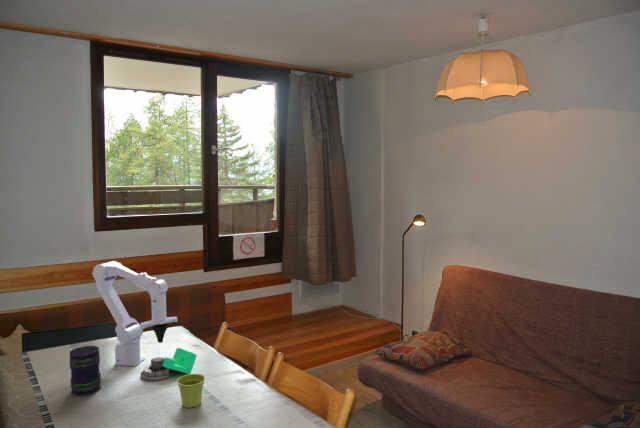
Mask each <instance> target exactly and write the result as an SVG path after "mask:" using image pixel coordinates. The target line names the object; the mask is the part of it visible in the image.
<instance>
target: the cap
mask: <svg viewBox="0 0 640 428" xmlns="http://www.w3.org/2000/svg"><path fill="white" fill-rule="evenodd" d="M164 359H165V357H162V356H161V357H159V356H158V357H154V358H152V359H150V364H151V370H161V369H164V368H165V367H163V366H162V364H163V362H164Z"/></svg>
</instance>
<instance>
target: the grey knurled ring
mask: <svg viewBox="0 0 640 428" xmlns="http://www.w3.org/2000/svg"><path fill="white" fill-rule="evenodd" d="M142 369H143V371H141V372H140V379H141V380H143V381H145V382H158V381H163V380H167V379H169V378H172V377H173V376H174V375H175V374H176V370H173V369H170V368H166V367H165V368H164V369H161V370H151V363H149V364H147V365H145V366H144V367H143V368H142Z"/></svg>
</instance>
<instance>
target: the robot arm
mask: <svg viewBox="0 0 640 428" xmlns="http://www.w3.org/2000/svg"><path fill="white" fill-rule="evenodd" d="M91 274H92V277H93V278H94V280H95V285H96V289H97V291H98V293H99V294H100V296H101V298H102V300H103V301H104V303H105V305H106V306H107V308H108V310H109V311H110V314H111V315H112V317H113V320H114V321H115V322H116V326H115V329H114V331H115V333H116V338H117V341H118V342H116V344H115V348H114V360H115V362H114V366H122V367H124V366H130V367H136V366H138V365H139V364H141V362H143V361H144V360H145V357H141V337H142V336H143V334H144V329H146V328H150V327H151V329H152V331H153V332H154V334H155V337H156V339H157V343H159V344H161V343H163V342H164V337H165V335H166V331H167V330H168V328H169V325H168V324H171V323H177V322H178V317H177V316H169V317H167V295H166V294H167V291H168V290H169V284H168V282H167V281H166V280H165V279H164V278H160V279H157V278H158V277H152V276H150V275H148V273H147V272H140V273H138V272H135V271H133V270H131V269H129V268H128V267H126V266H124V265H122V263H121V262H118V261H116V260H111V261H108V262H104V263H99V264H96V265H95V266H94V267H93V270H92V273H91ZM118 276H119V277H121V278H124V279H127V280H129V281H132V282H133V283H134V285H135V286H136V287H138V288H140V289H142V290H144V291H147V293H148V295H149V296H150V301H151V302H150V303H151V319H150V320H148V321H144V322H141V323H139V322H138V321H137V320H136V319H135V318H133V317H131V316H130V314H129V313H128V311H127V310H126V308H125V306H124V304H123V303H122V301H121V299H120V297H119V296H118V293H117V291H116V290H115V288H114V286H113V283H114V281H115V280H116V278H117V277H118Z"/></svg>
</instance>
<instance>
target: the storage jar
mask: <svg viewBox="0 0 640 428" xmlns="http://www.w3.org/2000/svg"><path fill="white" fill-rule="evenodd" d="M100 359H101V356H100V347H99V346H95V345H86V346H79V347H76V348H74V349H72V350H70V351H69V368H70V373H71V374H70V375H71V377H70V389H71V391H70V392H71V394H72V396H74V397H86V396H90V395H93V394H96V393H98V392H99V391H100V390H101V386H102V385H101V382H102V380H101V371H100V362H101V360H100Z"/></svg>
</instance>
